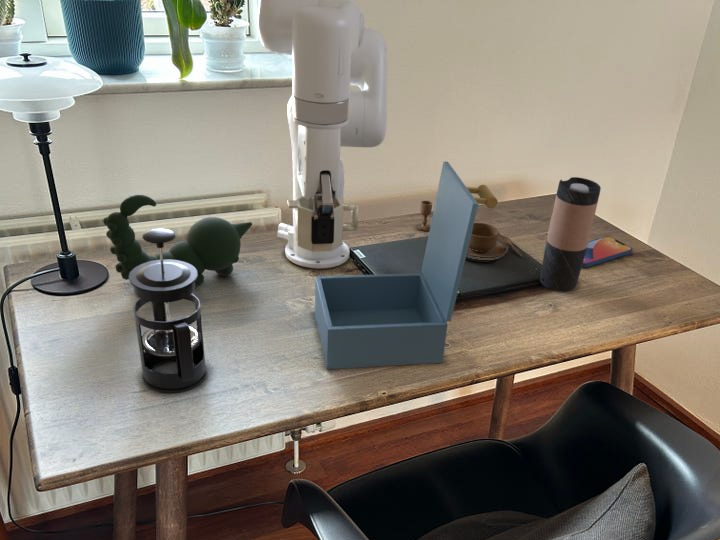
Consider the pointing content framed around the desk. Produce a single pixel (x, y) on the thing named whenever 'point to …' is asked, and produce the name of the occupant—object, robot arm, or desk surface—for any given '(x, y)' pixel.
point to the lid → (451, 236)
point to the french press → (168, 337)
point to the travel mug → (569, 233)
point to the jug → (306, 212)
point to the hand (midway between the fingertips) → (318, 231)
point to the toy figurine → (201, 249)
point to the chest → (378, 320)
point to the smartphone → (604, 250)
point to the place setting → (476, 238)
